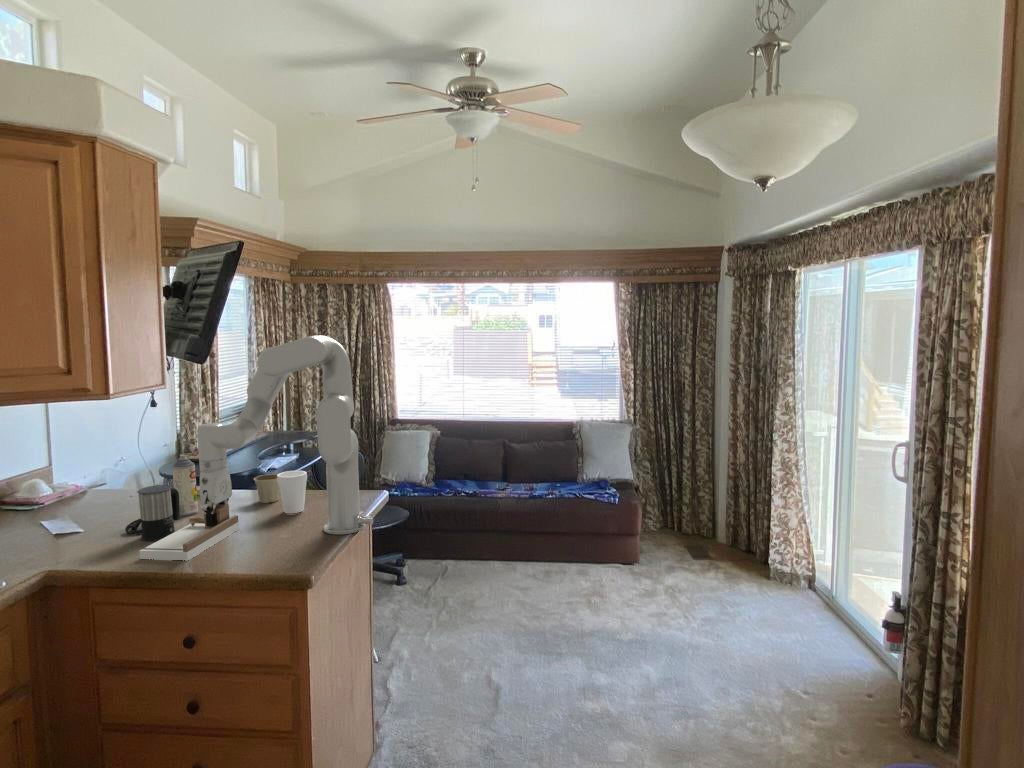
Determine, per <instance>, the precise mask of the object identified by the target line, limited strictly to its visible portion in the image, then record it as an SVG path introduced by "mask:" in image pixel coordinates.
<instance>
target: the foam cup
mask: <svg viewBox="0 0 1024 768" xmlns="http://www.w3.org/2000/svg"><path fill="white" fill-rule="evenodd" d="M307 473H308V471H305V470H287V471H283V472H280V473H277V474H278V475H277V482H278V485H279V494H280V500H281V504H282V509H283V512H285V513H297V512H301V511H303V510H304V511H305V502H306V490H307V480H308V474H307ZM304 511H303V512H304ZM285 513H284V514H285Z"/></svg>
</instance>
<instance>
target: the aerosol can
mask: <svg viewBox="0 0 1024 768" xmlns="http://www.w3.org/2000/svg"><path fill="white" fill-rule="evenodd" d="M196 476H197V475H196V465H195V462H192V460H190V459H189V458H188V457H187V456H186V454H180V455H179V459H177V460H176V461H175V463H173V464H172V482H173V483H172V484H173V488H175V489H177V491H178V492H179V508H180V517H190V516H194V515H196V513H197V514H198V513H199V505H198V491H197V489H198V488H197V478H196ZM193 514H194V515H193ZM189 515H190V516H189Z"/></svg>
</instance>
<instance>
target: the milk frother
mask: <svg viewBox="0 0 1024 768" xmlns="http://www.w3.org/2000/svg"><path fill="white" fill-rule="evenodd" d="M137 494H138V503H139V515H140V518H138V519H136V520H133V521H131V522H130V523H129V524H127V525H126V527H125V529H124V530H125V533H126V534H128V535H139V534H141V537H140V539H141V540H142V541H146V542H153V541H155V542H156V541H159V540H161V539H163V538H165V537H166V536H168V535H170V534H172V533H174V532H176V530H175V524H174V521H179V519H180V518H181V516H180V508H179V492H178V491H177V489H175V488H174V487H172V486H171V485H170V484H155V485H150V486H149V485H148V486H145V487H142V488H140V489H138V490H137ZM140 525H141V528H140V529H138V528H139V526H140Z"/></svg>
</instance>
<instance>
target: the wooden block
mask: <svg viewBox="0 0 1024 768" xmlns="http://www.w3.org/2000/svg"><path fill="white" fill-rule="evenodd" d="M209 507H210V508H211V509H212V505H209ZM215 513H217V525H218V524H220V523H222V522H224V521H225V520H227V519H229V518H230V506H229V504H228V505H219V504H216V507H215ZM188 518H189V524H191V525H192V526H194V525H195V523H200V524H205V529H211V528H213V527H207V526H206V514H205V513H204V512H203V516H191V517H188Z"/></svg>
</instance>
